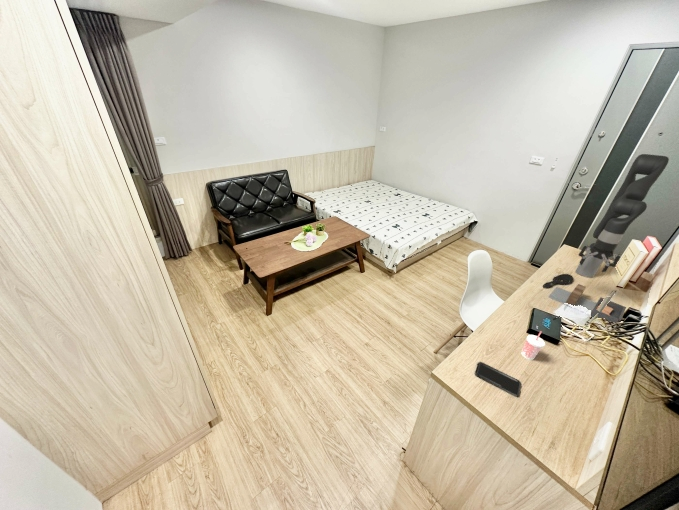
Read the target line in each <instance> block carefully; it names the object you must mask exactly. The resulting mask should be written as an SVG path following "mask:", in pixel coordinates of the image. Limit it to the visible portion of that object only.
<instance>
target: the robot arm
mask: <svg viewBox="0 0 679 510" xmlns="http://www.w3.org/2000/svg"><path fill="white" fill-rule="evenodd" d="M669 160H670V158H669V157H668V156H665V155H658V154H648V153H647V154H645V153H642V154H639V155H638V156H637V157H635V159H634V161H633V162H632V164H631V166H630V168H629V170H628V172H627V175H626V177H625V178H624V180H623V183H622V184H621V186H620V188H619V189H618V191H617V192H616V194H615V195H614V197H613V199H612V201H611V203H610V204H609V206H608V208H607V209H606V212H605V214H604V216H603V217H602V218H601V220H600V222H599V223H598V225H597V226H596V228H595V229H594V231H593V234H592V236H593V238H595V239H596V241H595V242H594V243H591V244H589V245H588V244H584V245H583V247H582V249H581V250H580V251H579V253H578V257H581V260H580V261H579V263H578V265H577V267H576V269H575V272H576V273H577V275H580V276H582V277H585V278H589V279H590V278H594V277H595V275H596V274H597V272H598V271H599V269H600V268H601V266H602V264H603V263H604V264H605V265H604V267H603V269H602V270H601V273H604V272H605V273H606V272H607V271H608V269H609V268H610V267H612V268H615V267H616V266H617V264H618V263H619V261H620V259H621V257H622V255H621V254H617V253H614V251H615V250H616V248H617V247H618V245H619V243H621V240H622V239H623V236H624V235H625V233H626V231H627V230H628V228H629V226H630V225H631V224H632V223H633V222H634V221H635V220H636V219H637V218H638V217H639V216H641V215H642V214H644V213H645V211H646V210H647V207H648V206H647V203H646V202H645V201H644V200H645V198H646V197H647V195H648V193H649V192H650V189H651V188H652V186H653V185H654V184H655V183H656V182H657V180H658V179H659V177H660V176H661V175H662V174H663V172H664V170H666V167H667V165H668V164H669ZM637 175H643V176H644V177H641V178H637V179H636V177H637ZM622 216H627V217H622ZM621 217H622V218H621ZM611 257H612V258H613V259H614V261H613V262H611V261H610V258H611Z"/></svg>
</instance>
